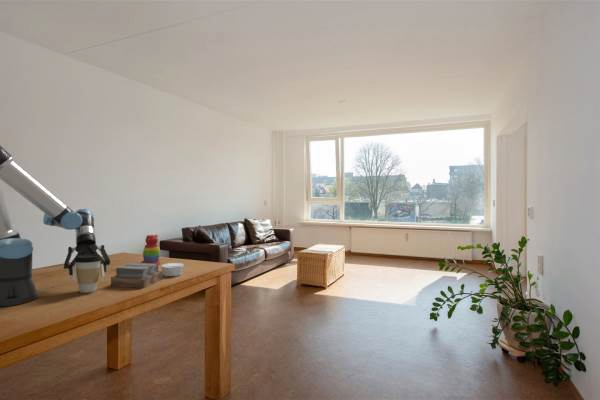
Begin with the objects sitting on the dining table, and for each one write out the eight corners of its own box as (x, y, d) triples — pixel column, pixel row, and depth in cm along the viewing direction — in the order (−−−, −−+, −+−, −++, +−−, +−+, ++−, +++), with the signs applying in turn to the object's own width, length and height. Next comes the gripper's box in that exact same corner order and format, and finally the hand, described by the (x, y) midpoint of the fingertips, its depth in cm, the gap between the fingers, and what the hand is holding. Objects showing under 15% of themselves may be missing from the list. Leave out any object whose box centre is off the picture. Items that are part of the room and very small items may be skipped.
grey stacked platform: (143, 288, 150) (143, 270, 150) (110, 286, 152) (111, 268, 152) (162, 279, 166) (162, 263, 166) (132, 277, 168) (132, 261, 168)
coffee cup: (93, 286, 150) (94, 253, 150) (105, 290, 145) (106, 255, 145) (69, 291, 142) (70, 256, 142) (81, 295, 137) (82, 259, 137)
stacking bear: (157, 262, 206) (158, 233, 206) (163, 264, 198) (163, 235, 198) (139, 264, 199) (139, 234, 199) (143, 267, 191) (144, 236, 191)
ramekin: (163, 278, 168) (164, 268, 168) (158, 273, 177) (158, 264, 177) (186, 275, 175) (186, 265, 175) (180, 271, 184) (180, 262, 184)
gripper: (112, 241, 162) (117, 280, 150) (55, 244, 149) (55, 288, 136) (114, 231, 158) (119, 271, 146) (56, 233, 144) (56, 278, 132)
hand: (88, 279), depth 141 cm, fingers closed on coffee cup, 10 cm apart
